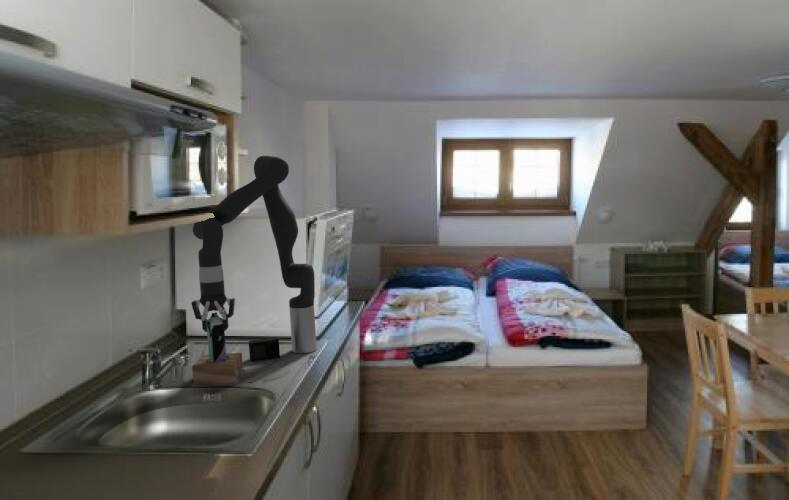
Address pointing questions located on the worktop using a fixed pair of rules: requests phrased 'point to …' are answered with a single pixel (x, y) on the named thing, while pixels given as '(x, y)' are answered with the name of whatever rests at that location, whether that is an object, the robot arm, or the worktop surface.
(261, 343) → the digital camera
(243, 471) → the worktop surface
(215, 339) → the spray can
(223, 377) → the socket block
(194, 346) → the worktop surface
